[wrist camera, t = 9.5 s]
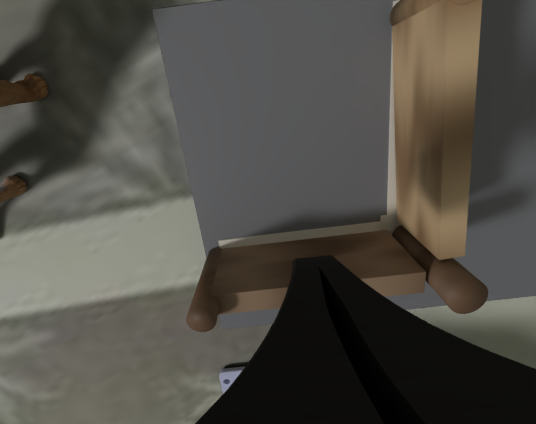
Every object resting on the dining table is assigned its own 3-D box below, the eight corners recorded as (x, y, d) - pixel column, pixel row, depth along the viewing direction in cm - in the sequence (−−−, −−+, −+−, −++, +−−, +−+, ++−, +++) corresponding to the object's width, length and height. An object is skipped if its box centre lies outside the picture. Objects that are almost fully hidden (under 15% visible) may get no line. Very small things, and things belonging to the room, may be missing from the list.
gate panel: (418, 217, 19) (472, 259, 14) (395, 220, 19) (441, 264, 14) (418, -4, 14) (497, -54, 10) (389, 2, 15) (452, -45, 10)
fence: (419, 221, 19) (491, 278, 13) (417, 246, 20) (485, 311, 14) (205, 245, 19) (180, 312, 13) (210, 269, 20) (188, 342, 14)
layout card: (579, 287, 22) (586, 291, 21) (223, 325, 22) (222, 330, 22) (686, -61, 14) (700, -66, 14) (154, 11, 15) (151, 9, 15)
